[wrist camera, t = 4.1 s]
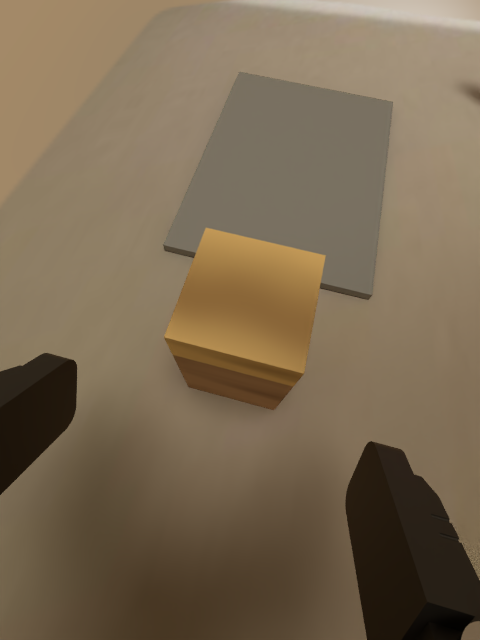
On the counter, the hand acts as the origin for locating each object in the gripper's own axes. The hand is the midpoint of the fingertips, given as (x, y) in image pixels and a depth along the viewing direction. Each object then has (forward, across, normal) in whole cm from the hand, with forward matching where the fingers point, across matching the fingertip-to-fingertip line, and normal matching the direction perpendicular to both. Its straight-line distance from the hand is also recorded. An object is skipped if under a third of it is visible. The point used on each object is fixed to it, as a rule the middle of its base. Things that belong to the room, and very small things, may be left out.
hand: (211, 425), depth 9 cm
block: (+10, 0, +3) cm, 11 cm away
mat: (+22, 0, -8) cm, 23 cm away
